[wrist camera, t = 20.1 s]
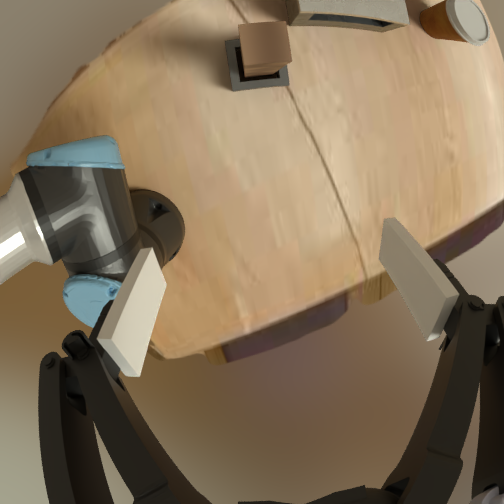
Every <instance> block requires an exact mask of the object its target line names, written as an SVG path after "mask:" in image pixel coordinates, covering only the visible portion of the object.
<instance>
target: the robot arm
mask: <svg viewBox="0 0 504 504" xmlns="http://www.w3.org/2000/svg"><path fill="white" fill-rule="evenodd" d="M26 164H27V166H29V167H28V168H26V169H24V170H22V171H20V172H19V173H17V174H15V177H14V179H13V181H12V184H11V187H10V189H9V191H8V192H7V193H6V194H5V195H3V196H1V197H0V284H2V283H3V282H4V281H6V280H7V279H9V278H10V277H11V276H13V275H14V274H15V273H17V272H18V271H20V270H21V269H23V268H24V267H26V266H27V265H29V264H30V263H32V262H33V261H39V262H42V263H45V264H48V265H52V264H54V263H55V262H57V261H58V260H60V259H62V261H63V263H64V266H65V268H66V270H67V272H68V274H69V278H68V279H67V280H66V281H65V283H64V290H63V299H64V302H65V304H66V306H67V307H68V309H69V310H70V311H71V312H72V314H73V315H75V317H77V318H78V319H79V320H80V321H82V322H83V323H85V324H86V325H88V326H90V327H93V330H92V332H91V335H90V337H89V339H88V338H87V336H86V335H85V333H84V332H83V331H81V330H75V331H73V332H71V333H69V334H68V335H67V336H66V338H65V339H64V340H63V343H62V349H63V350H64V351H65V353H66V354H67V355H68V357H65V358H61V357H60V356H59V355H58V353H56V352H50V353H48V354H47V355H46V356H44V358H43V359H42V361H41V364H40V374H39V375H40V376H39V397H38V398H39V400H38V404H39V405H38V409H39V410H38V412H39V437H40V448H41V458H42V466H43V472H44V478H45V485H46V489H47V495H48V499H49V504H114V502H113V499H112V496H111V493H110V490H109V487H108V483H107V480H106V476H105V473H104V469H103V465H102V462H101V457H100V453H99V448H98V444H97V439H96V434H95V429H94V423H95V426H96V428H97V430H98V432H99V435H100V436H101V439H102V441H103V443H104V445H105V447H106V449H107V451H108V453H109V455H110V457H111V459H112V461H113V463H114V464H115V466H116V468H117V470H118V472H119V473H120V475H121V477H122V479H123V480H124V482H125V484H126V485H127V487H128V488H129V490H130V492H131V493H132V495H133V497H134V502H133V504H212V503H211V502H210V501H209V500H207V499H206V498H205V497H204V496H203V495H202V494H200V493H199V492H198V491H197V490H196V489H195V488H194V487H193V486H192V485H191V483H190V482H189V481H188V480H187V479H186V477H185V476H184V475H183V474H182V472H181V471H180V470H179V469H178V467H177V466H176V465H175V463H174V462H173V461H172V459H171V458H170V457H169V455H168V454H167V453H166V451H165V450H164V449H163V447H162V446H161V444H160V443H159V441H158V440H157V438H156V437H155V435H154V434H153V432H152V431H151V429H150V428H149V426H148V425H147V423H146V421H145V420H144V418H143V417H142V415H141V413H140V412H139V410H138V408H137V407H136V405H135V403H134V402H133V400H132V398H131V396H130V395H129V393H128V391H127V389H126V387H125V385H124V383H123V382H122V380H121V378H120V377H119V376H118V374H119V372H120V369H121V371H122V372H123V373H124V374H125V375H126V376H135V377H139V376H140V374H141V370H142V366H143V362H144V359H145V355H146V351H147V348H148V344H149V340H150V337H151V334H152V330H153V327H154V324H155V320H156V317H157V314H158V310H159V307H160V304H161V301H162V298H163V295H164V292H165V289H166V286H167V284H166V282H165V279H164V277H163V274H162V272H161V270H162V268H163V266H165V265H166V264H167V263H168V262H169V261H170V260H172V259H173V258H174V257H175V256H176V255H177V253H178V252H179V250H180V248H181V245H182V243H183V240H184V235H185V225H184V221H183V218H182V215H181V213H180V212H179V210H178V209H177V207H176V206H175V205H174V204H173V203H172V202H171V201H170V200H169V199H168V198H166V197H165V196H163V195H161V194H159V193H156V192H153V191H149V190H137V191H133V192H129V188H128V184H127V179H126V175H125V170H124V169H125V166H124V164H123V163H122V160H121V156H120V152H119V148H118V144H117V142H116V140H115V139H114V138H112V137H111V136H107V135H102V136H97V137H92V138H87V139H82V140H78V141H74V142H70V143H65V144H62V145H58V146H54V147H50V148H47V149H43V150H40V151H37V152H33V153H30V154H29V155H28V157H27V162H26ZM379 260H380V262H381V263H382V265H383V266H384V268H385V269H386V271H387V273H388V274H389V276H390V277H391V279H392V281H393V282H394V284H395V286H396V287H397V289H398V291H399V292H400V294H401V296H402V298H403V299H404V301H405V303H406V304H407V306H408V307H409V310H410V311H411V313H412V315H413V317H414V319H415V321H416V322H417V324H418V326H419V328H420V330H421V332H422V334H423V335H424V338H425V340H426V341H430V340H433V339H436V338H439V337H440V335H441V333H442V331H443V329H444V331H445V332H446V334H447V335H446V337H445V339H444V341H443V342H442V344H441V346H440V348H439V350H441V348H442V351H441V355H440V358H439V363H438V366H437V369H436V373H435V376H434V379H433V383H432V386H431V388H430V392H429V394H428V397H427V400H426V403H425V406H424V408H423V411H422V413H421V416H420V418H419V421H418V423H417V426H416V428H415V430H414V433H413V435H412V437H411V439H410V442H409V444H408V446H407V448H406V450H405V452H404V454H403V456H402V458H401V460H400V462H399V463H398V465H397V467H396V468H395V469H394V470H393V472H392V473H391V474H390V475H389V477H388V478H387V480H386V482H385V483H384V485H383V486H382V488H381V489H377V488H365V485H363V486H360V487H356V488H352V489H347V490H343V491H338V492H334V493H332V494H330V495H328V496H325V497H323V498H320V499H317V500H315V501H312V502H309V503H307V504H447V502H448V500H449V498H450V496H451V494H452V492H453V489H454V487H455V485H456V482H457V480H458V478H459V475H460V473H461V470H462V467H463V461H462V460H461V458H460V454H461V451H462V448H463V445H464V442H465V439H466V436H467V432H468V429H469V426H470V422H471V418H472V414H473V411H474V406H475V402H476V397H477V393H478V388H479V382H480V423H479V438H478V448H477V457H476V464H475V470H474V476H473V483H472V500H471V501H470V503H469V504H504V296H501V297H499V298H498V300H497V302H496V304H485V303H484V301H483V300H482V299H481V298H479V297H477V296H475V295H468V293H467V292H466V291H465V289H464V288H463V287H462V285H461V284H460V283H459V281H458V280H457V279H456V278H455V277H454V275H453V274H452V273H451V272H450V270H449V269H448V268H447V266H446V265H445V264H444V263H442V262H441V261H439V260H438V259H434V260H432V258H431V257H430V256H429V255H428V254H427V252H426V251H425V250H424V249H423V248H422V247H421V245H420V244H419V243H418V242H417V241H416V240H415V239H414V237H413V236H412V235H411V234H410V233H409V232H408V231H407V230H406V229H405V228H404V226H403V225H402V224H401V223H400V222H399V221H398V220H397V219H396V218H387V219H384V223H383V231H382V239H381V246H380V253H379ZM93 421H94V423H93ZM238 504H290V503H281V502H274V501H254V502H238Z"/></svg>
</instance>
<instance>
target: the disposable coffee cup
mask: <svg viewBox="0 0 504 504" xmlns="http://www.w3.org/2000/svg"><path fill="white" fill-rule="evenodd" d="M420 22H421V25H422V27H423V29H424V30H425V31H426V33H427V34H429V35H430V36H431V37H433V38H436V39H445V40H454V41H462V42H468V43H470V44H472V45H475V46H481V45H483V44H484V43H485V42H487V41H488V39H489V36H490V29H489V24H488V21H487V19H486V17H485V15H484V13H483V11H482V10H481V9H480V7H479V6H478V5H477V4H476V3H475V2H474V1H473V0H444V1H442V2H440V3H438V4H436V5H434V6H432V7H430V8H428V9H426V10H424V11H422V12H421V14H420Z"/></svg>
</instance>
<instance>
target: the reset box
mask: <svg viewBox="0 0 504 504" xmlns="http://www.w3.org/2000/svg"><path fill="white" fill-rule="evenodd" d="M285 1H286V7H287V12H288V18H289V24H290V26H326V27H342V28H353V29H362V30H370V31H377V32H386V31H389V30H393V29H396V28H400V27H403V26H407V25H410V23H409V17H408V12H407V8H406V3H405V0H285Z"/></svg>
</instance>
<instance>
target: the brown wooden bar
mask: <svg viewBox="0 0 504 504" xmlns="http://www.w3.org/2000/svg"><path fill="white" fill-rule="evenodd" d="M238 28H239V37H240V47H241V56H242V62H243V69H244V75H245V78H250V77H259V76H270V75H272V74H274V73H275V72H277V71H278V70H280V69H281V68H283V67H284V66H286V65H287V64H289V63H290V62H292V57H291V50H290V44H289V37H288V31H287V25H286V21H276V22H261V23H250V24H241V25H238Z"/></svg>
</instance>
